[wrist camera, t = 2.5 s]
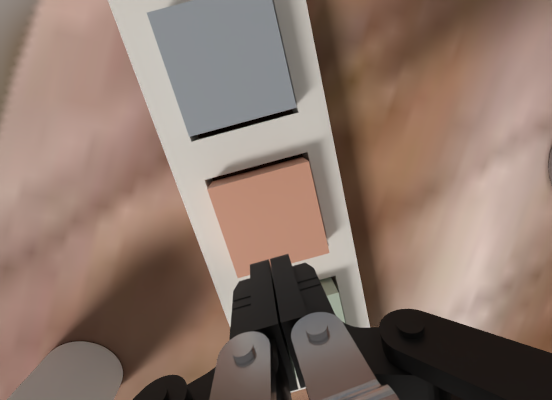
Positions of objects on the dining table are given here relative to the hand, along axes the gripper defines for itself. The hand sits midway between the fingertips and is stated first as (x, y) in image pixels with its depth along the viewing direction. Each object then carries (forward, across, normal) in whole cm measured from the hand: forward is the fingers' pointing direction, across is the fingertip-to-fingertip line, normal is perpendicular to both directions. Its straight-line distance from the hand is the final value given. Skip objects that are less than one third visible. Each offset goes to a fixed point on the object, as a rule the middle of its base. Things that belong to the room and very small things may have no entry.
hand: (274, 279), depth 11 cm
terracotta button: (+8, 0, 0) cm, 8 cm away
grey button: (+8, 0, -9) cm, 12 cm away
